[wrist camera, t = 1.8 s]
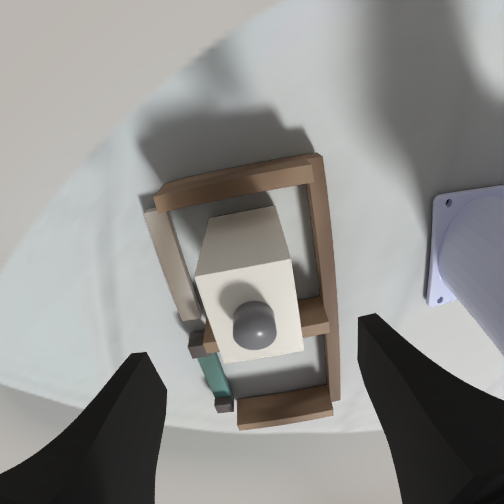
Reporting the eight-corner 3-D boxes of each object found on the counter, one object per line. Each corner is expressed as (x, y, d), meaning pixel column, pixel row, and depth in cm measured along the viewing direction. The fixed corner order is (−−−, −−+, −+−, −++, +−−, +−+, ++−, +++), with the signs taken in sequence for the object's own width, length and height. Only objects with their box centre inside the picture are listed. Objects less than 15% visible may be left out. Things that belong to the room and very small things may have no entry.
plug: (275, 205, 17) (294, 272, 11) (287, 278, 19) (307, 366, 12) (209, 218, 17) (190, 291, 11) (228, 289, 19) (223, 380, 13)
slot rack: (317, 152, 16) (329, 161, 13) (337, 388, 23) (343, 412, 21) (140, 189, 16) (125, 204, 14) (222, 407, 24) (221, 432, 22)
